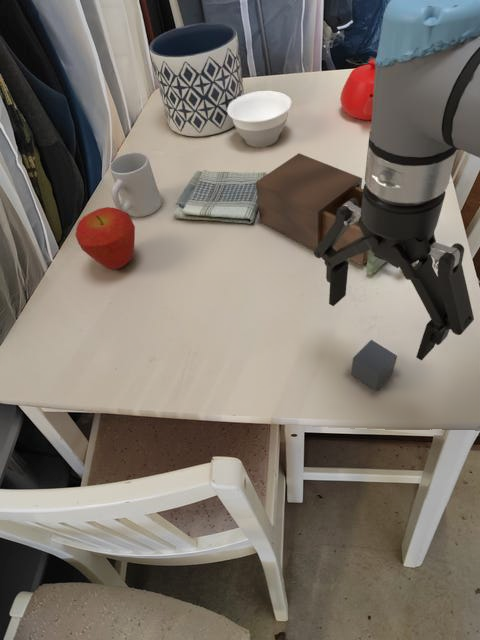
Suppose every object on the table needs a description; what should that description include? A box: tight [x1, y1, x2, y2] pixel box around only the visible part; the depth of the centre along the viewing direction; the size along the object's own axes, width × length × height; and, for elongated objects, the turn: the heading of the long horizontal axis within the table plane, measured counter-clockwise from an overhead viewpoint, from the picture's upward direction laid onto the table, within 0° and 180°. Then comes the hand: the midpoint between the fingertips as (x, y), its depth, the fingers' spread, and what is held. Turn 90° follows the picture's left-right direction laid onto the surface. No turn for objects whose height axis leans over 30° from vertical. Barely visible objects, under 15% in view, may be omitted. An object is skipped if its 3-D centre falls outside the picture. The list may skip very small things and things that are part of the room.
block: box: [350, 339, 398, 392], centre depth 65 cm, size 4×4×4 cm
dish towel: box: [173, 169, 268, 225], centre depth 99 cm, size 19×18×3 cm
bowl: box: [227, 90, 293, 148], centre depth 112 cm, size 16×16×9 cm
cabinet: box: [256, 153, 363, 252], centre depth 87 cm, size 16×13×10 cm
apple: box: [74, 206, 136, 270], centre depth 86 cm, size 11×11×12 cm
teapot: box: [340, 58, 376, 121], centre depth 112 cm, size 25×16×12 cm, turn 167°
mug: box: [109, 152, 163, 218], centre depth 97 cm, size 12×8×11 cm
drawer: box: [320, 186, 387, 276], centre depth 80 cm, size 19×11×8 cm, turn 44°
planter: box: [148, 22, 245, 137], centre depth 118 cm, size 22×22×20 cm
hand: (378, 324), depth 58 cm, fingers open, 13 cm apart
